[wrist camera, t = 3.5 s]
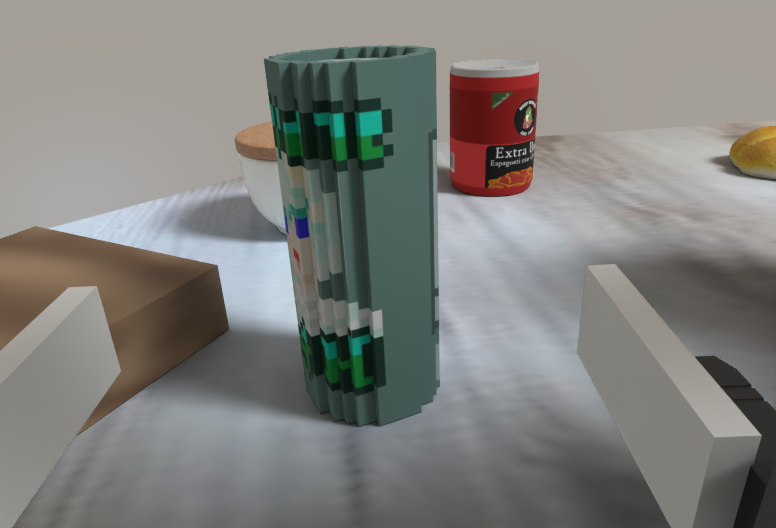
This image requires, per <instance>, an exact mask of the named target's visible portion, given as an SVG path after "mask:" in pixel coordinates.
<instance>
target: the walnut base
mask: <svg viewBox="0 0 776 528" xmlns="http://www.w3.org/2000/svg"><path fill="white" fill-rule="evenodd" d="M87 286H97V288H98V291H99V295H100V298H101V302H102V306H103V309H104V313H105V316H106V320H107V323H108V327H109V330H110V334H111V337H112V341H113V344H114V348H115V351H116V355H117V358H118V362H119V365H120V369H121V372H120V373H119V375H118V376H117V378H116V379H115V381H114V382H113V383H112V385H111V386H110V388H109V389H108V391H107V392H106V393H105V395H104V396H103V398H102V399H101V401H100V402H99V404H98V405H97V406H96V408H95V409H94V411H93V412H92V414H91V415H90V416H89V418H88V419H87V421H86V422H85V424H84V425H83V426H82V428H81V429H80V431H79V432H78V434H80V433H81V432H83V431H84V430H85V429H87V428H88V427H90V426H91V425H93V424H94V423H95V422H97V421H98V420H100V419H101V418H103V417H104V416H105V415H107V414H108V413H110V412H111V411H113V410H114V409H115V408H117V407H118V406H120V405H121V404H122V403H124V402H125V401H127V400H128V399H130V398H131V397H132V396H134V395H135V394H137V393H138V392H140V391H141V390H142V389H144V388H145V387H147V386H148V385H150V384H151V383H152V382H154V381H155V380H157V379H158V378H160V377H161V376H162V375H164V374H165V373H167V372H168V371H170V370H171V369H172V368H174V367H175V366H177V365H178V364H180V363H181V362H182V361H184V360H185V359H187V358H188V357H189V356H191V355H192V354H194V353H195V352H197V351H198V350H199V349H201V348H202V347H204V346H205V345H207V344H208V343H209V342H211V341H212V340H214V339H215V338H217V337H218V336H219V335H221V334H222V333H224V332H225V331H227V330H228V329H229V325H228V320H227V315H226V309H225V304H224V298H223V293H222V288H221V282H220V277H219V271H218V266H217V265H213V264H209V263H204V262H199V261H195V260H190V259H185V258H181V257H176V256H171V255H167V254H162V253H157V252H153V251H148V250H143V249H139V248H134V247H129V246H125V245H120V244H115V243H111V242H106V241H101V240H97V239H92V238H87V237H83V236H78V235H73V234H69V233H64V232H59V231H55V230H50V229H45V228H41V227H36V226H35V227H32V228H29V229H27V230H24V231H21V232H18V233H16V234H13V235H10V236H7V237H5V238H2V239H0V351H1V350H2V349H3V348H4V347H5V346H6V345H7V344H8V343H9V342H10V341H11V340H13V339H14V338H15V337H16V336H17V335H18V334H19V333H20V332H21V331H22V330H23V329H24V328H25V327H27V326H28V325H29V324H30V323H31V322H32V321H33V320H34V319H35V318H36V317H37V316H38V315H39V314H41V313H42V312H43V311H44V310H45V309H46V308H47V307H48V306H49V305H50V304H51V303H52V302H53V301H55V300H56V299H57V298H58V297H59V296H60V295H61V294H62V293H63V292H64V291H65V290H66V289H67V288H68V287H87ZM78 434H77V435H78ZM77 435H76V436H77Z"/></svg>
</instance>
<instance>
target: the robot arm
mask: <svg viewBox="0 0 776 528" xmlns="http://www.w3.org/2000/svg"><path fill="white" fill-rule="evenodd" d="M577 354H578V355H579V357H580V359H581V361H582V363H583V365H584V367H585V369H586V370H587V372H588V374H589V376H590V378H591V380H592V382H593V383H594V385H595V387H596V389H597V391H598V393H599V395H600V396H601V398H602V400H603V402H604V404H605V406H606V408H607V410H608V411H609V413H610V415H611V417H612V419H613V421H614V423H615V424H616V426H617V428H618V430H619V432H620V434H621V436H622V438H623V439H624V441H625V443H626V445H627V447H628V449H629V451H630V452H631V454H632V456H633V458H634V460H635V462H636V464H637V465H638V467H639V469H640V471H641V473H642V475H643V477H644V479H645V480H646V482H647V484H648V486H649V488H650V490H651V492H652V493H653V495H654V497H655V499H656V501H657V503H658V505H659V507H660V508H661V510H662V512H663V514H664V516H665V518H666V520H667V521H668V523H669V525H670V527H671V528H776V411H775V410H774V409H773V408H772V407H771V405H770V404H769V403H768V402H767V401H766V402H764V398H763V397H762V396H761V395H760V394H759V393H758V392H757V391H756V389H755V388H752V387H751V384H750V383H749V382H748V381H747V380H746V379H745V378H744V377H743V376H742V375H741V373H740V372H739V371H738V370H737V369H735V368H734V367H732V366H730V365H729V364H727V363H725V362H724V361H722V360H720V359H719V358H717V357H715V356H699V357H694V356H693V354H692V353H691V352H690V351H689V350H688V349H687V347H686V346H685V345H684V344H683V343H682V342H681V340H680V339H679V338H678V337H677V336H676V334H675V333H674V332H673V331H672V330H671V329H670V327H669V326H668V325H667V324H666V323H665V322H664V320H663V319H662V318H661V317H660V316H659V315H658V313H657V312H656V311H655V310H654V309H653V308H652V306H651V305H650V304H649V303H648V302H647V301H646V299H645V298H644V297H643V296H642V295H641V294H640V292H639V291H638V290H637V289H636V288H635V286H634V285H633V284H632V283H631V282H630V281H629V279H628V278H627V277H626V276H625V275H624V274H623V272H622V271H621V270H620V269H619V268H618V267H617V265H616V264H606V265H586V274H585V284H584V293H583V302H582V311H581V320H580V330H579V339H578V348H577ZM120 372H121V369H120V365H119V362H118V358H117V355H116V351H115V348H114V344H113V341H112V337H111V334H110V330H109V327H108V323H107V320H106V316H105V313H104V309H103V306H102V302H101V298H100V295H99V291H98V288H97V286H87V287H68V288H67V289H66V290H65V291H64V292H63V293H62V294H61V295H60V296H59V297H58V298H57V299H56V300H55V301H53V302H52V303H51V304H50V305H49V306H48V307H47V308H46V309H45V310H44V311H43V312H42V313H41V314H39V315H38V316H37V317H36V318H35V319H34V320H33V321H32V322H31V323H30V324H29V325H28V326H27V327H25V328H24V329H23V330H22V331H21V332H20V333H19V334H18V335H17V336H16V337H15V338H14V339H13V340H11V341H10V342H9V343H8V344H7V345H6V346H5V347H4V348H3V349H2V350H1V351H0V528H12V527H13V525H14V524H15V523H16V521H17V520H18V518H19V517H20V515H21V514H22V512H23V511H24V510H25V508H26V507H27V505H28V504H29V502H30V501H31V500H32V498H33V497H34V495H35V494H36V492H37V491H38V490H39V488H40V487H41V485H42V484H43V482H44V481H45V479H46V478H47V477H48V475H49V474H50V472H51V471H52V469H53V468H54V467H55V465H56V464H57V462H58V461H59V459H60V458H61V457H62V455H63V454H64V452H65V451H66V449H67V448H68V447H69V445H70V444H71V442H72V441H73V439H74V438H75V436H76V435H77V434H78V432H79V431H80V429H81V428H82V426H83V425H84V424H85V422H86V421H87V419H88V418H89V416H90V415H91V414H92V412H93V411H94V409H95V408H96V406H97V405H98V404H99V402H100V401H101V399H102V398H103V396H104V395H105V393H106V392H107V391H108V389H109V388H110V386H111V385H112V383H113V382H114V381H115V379H116V378H117V376H118V375H119V373H120Z"/></svg>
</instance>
